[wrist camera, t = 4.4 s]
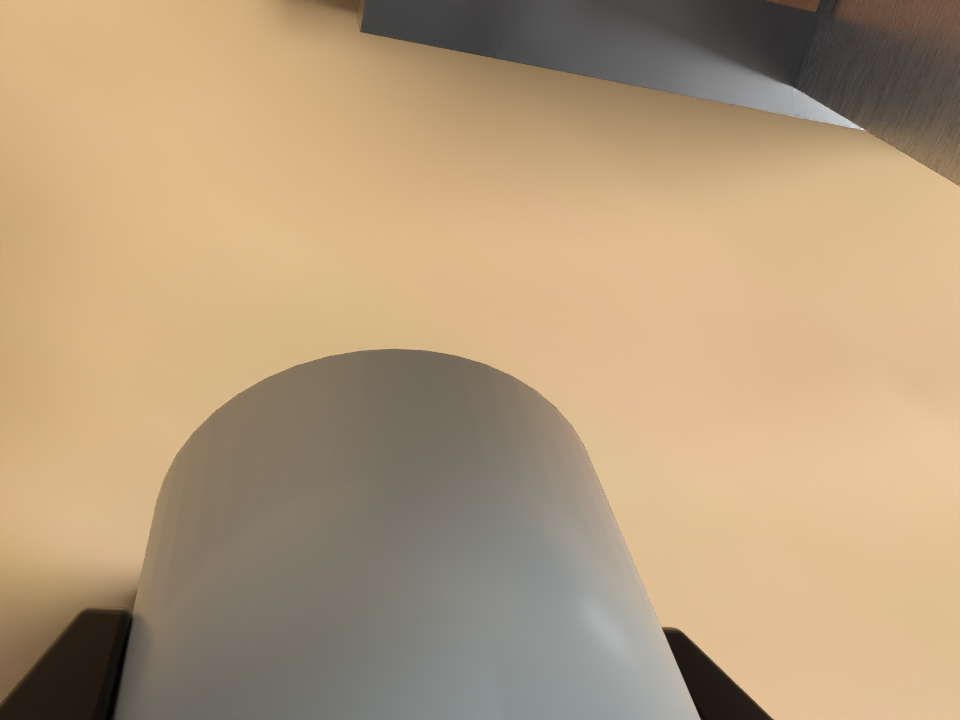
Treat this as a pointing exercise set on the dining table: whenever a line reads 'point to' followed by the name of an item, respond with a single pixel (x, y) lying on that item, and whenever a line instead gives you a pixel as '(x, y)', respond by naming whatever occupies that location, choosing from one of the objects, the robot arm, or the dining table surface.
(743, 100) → the motor mount
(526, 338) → the dining table surface
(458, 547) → the grey round-ended capsule
